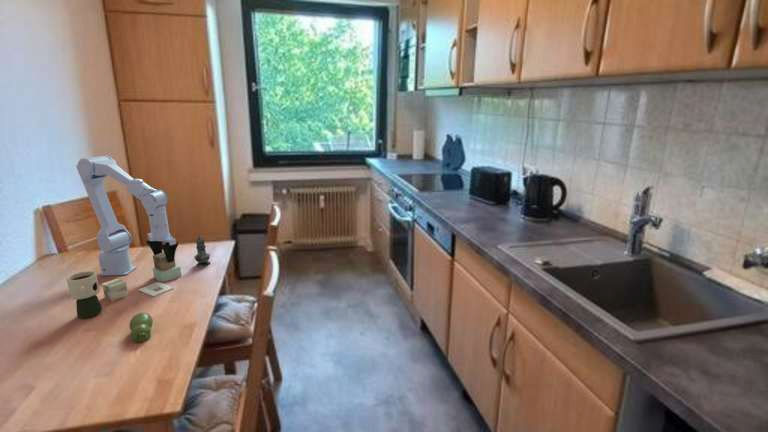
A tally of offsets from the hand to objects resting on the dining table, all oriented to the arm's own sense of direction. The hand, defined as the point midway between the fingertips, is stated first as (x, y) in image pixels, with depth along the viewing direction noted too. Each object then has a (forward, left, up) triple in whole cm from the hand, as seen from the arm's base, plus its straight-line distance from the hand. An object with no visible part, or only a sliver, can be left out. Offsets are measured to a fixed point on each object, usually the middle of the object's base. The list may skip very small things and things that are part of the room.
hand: (164, 259), depth 147 cm
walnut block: (0, 0, -3) cm, 3 cm away
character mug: (-11, -27, -7) cm, 30 cm away
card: (+1, -11, -7) cm, 13 cm away
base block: (0, 0, -7) cm, 7 cm away
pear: (+11, -39, -7) cm, 41 cm away
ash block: (-10, -15, -7) cm, 19 cm away
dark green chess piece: (+9, +11, -7) cm, 16 cm away
